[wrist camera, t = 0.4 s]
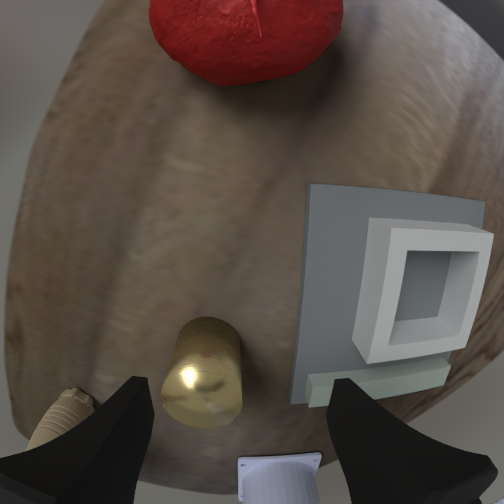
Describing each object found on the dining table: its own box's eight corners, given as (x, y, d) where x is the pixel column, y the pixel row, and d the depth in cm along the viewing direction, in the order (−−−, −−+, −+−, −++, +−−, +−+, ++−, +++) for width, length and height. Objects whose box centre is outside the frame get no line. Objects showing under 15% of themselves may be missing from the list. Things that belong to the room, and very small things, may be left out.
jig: (435, 376, 23) (456, 401, 19) (288, 396, 22) (296, 432, 19) (477, 200, 19) (512, 209, 15) (306, 182, 18) (325, 187, 14)
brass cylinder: (240, 369, 22) (242, 429, 16) (180, 368, 21) (166, 426, 16) (240, 317, 20) (242, 372, 15) (174, 315, 20) (155, 369, 14)
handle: (78, 366, 21) (-5, 508, 7) (120, 420, 23) (73, 560, 8) (43, 375, 21) (-35, 494, 7) (83, 425, 23) (32, 546, 9)
